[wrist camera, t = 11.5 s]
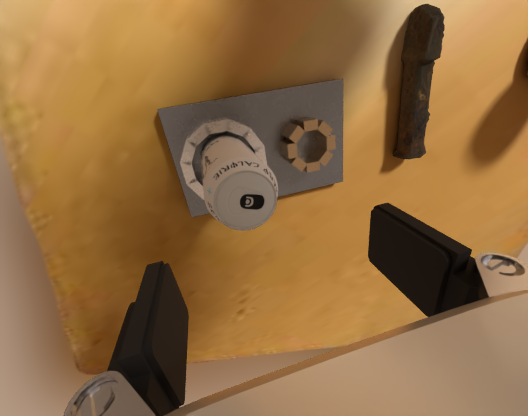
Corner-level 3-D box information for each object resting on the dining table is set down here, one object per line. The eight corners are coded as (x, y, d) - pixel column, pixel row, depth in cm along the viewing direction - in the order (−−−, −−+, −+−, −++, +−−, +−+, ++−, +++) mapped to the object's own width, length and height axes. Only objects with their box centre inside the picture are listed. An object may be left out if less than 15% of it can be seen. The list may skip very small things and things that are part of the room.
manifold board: (337, 79, 32) (356, 76, 28) (337, 178, 38) (354, 187, 34) (159, 108, 28) (152, 110, 24) (191, 212, 35) (191, 227, 31)
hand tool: (409, 152, 40) (433, 158, 36) (388, 156, 39) (410, 163, 35) (430, 7, 31) (464, -6, 27) (403, 10, 31) (434, -4, 27)
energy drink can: (202, 130, 29) (206, 157, 16) (250, 136, 31) (291, 165, 18) (200, 178, 31) (202, 237, 18) (245, 181, 33) (277, 237, 20)
